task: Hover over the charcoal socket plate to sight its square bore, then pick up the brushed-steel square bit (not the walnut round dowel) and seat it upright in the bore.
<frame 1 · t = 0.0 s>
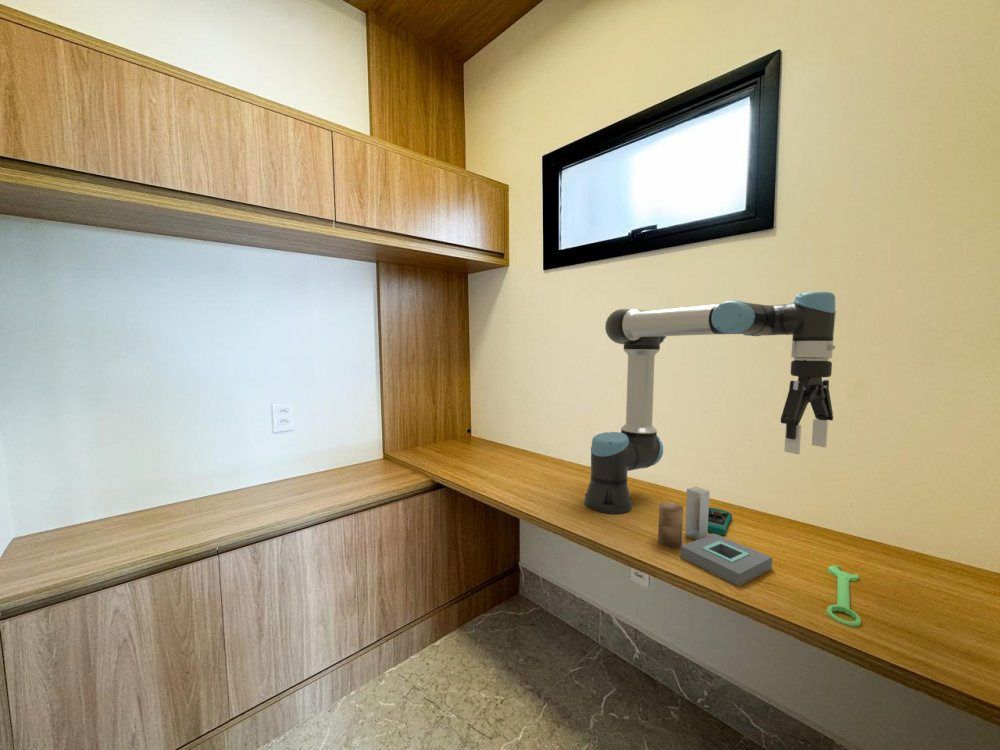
hand: (805, 449, 93), 28 cm above the worktop, fingers open, 13 cm apart
socket plate: (724, 562, 95), on the worktop
square bit: (696, 536, 109), on the worktop
digital multimeter: (714, 526, 117), on the worktop
wrench: (843, 597, 84), on the worktop
round dowel: (669, 543, 105), on the worktop
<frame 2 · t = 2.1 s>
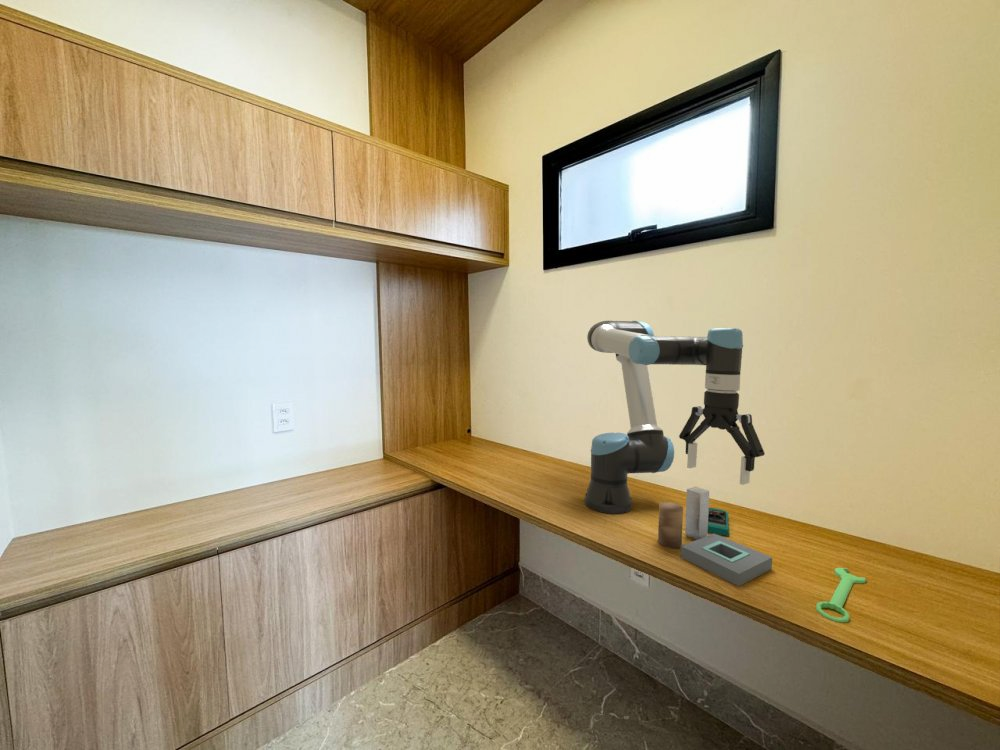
hand: (716, 475, 99), 20 cm above the worktop, fingers open, 13 cm apart
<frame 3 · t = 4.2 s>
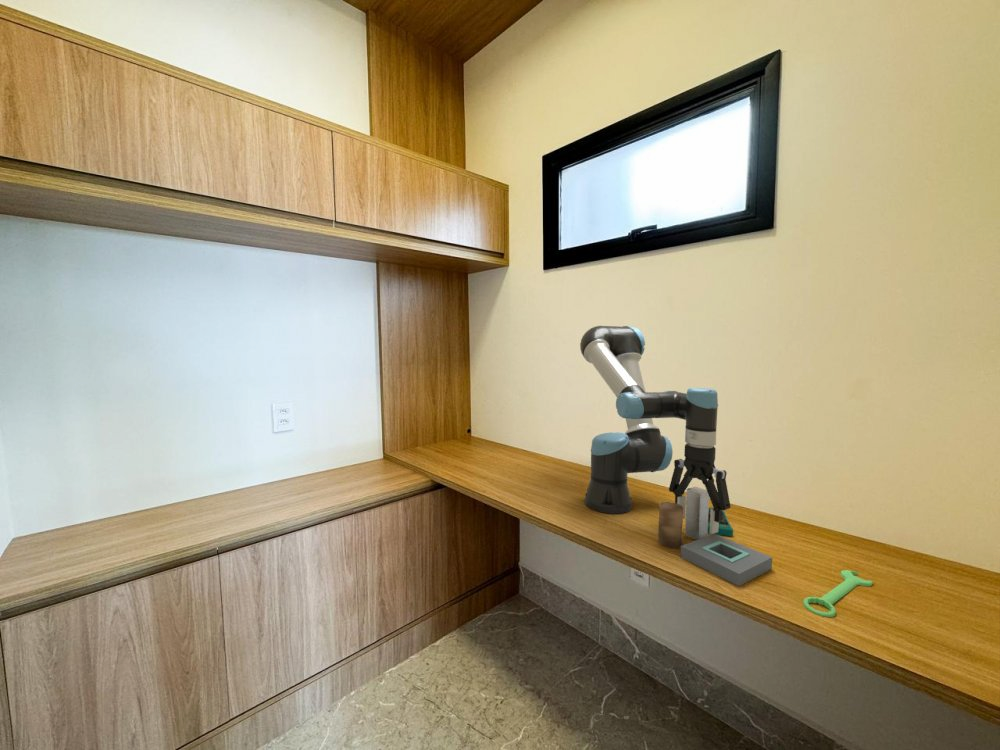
hand: (696, 525, 109), 3 cm above the worktop, fingers open, 9 cm apart
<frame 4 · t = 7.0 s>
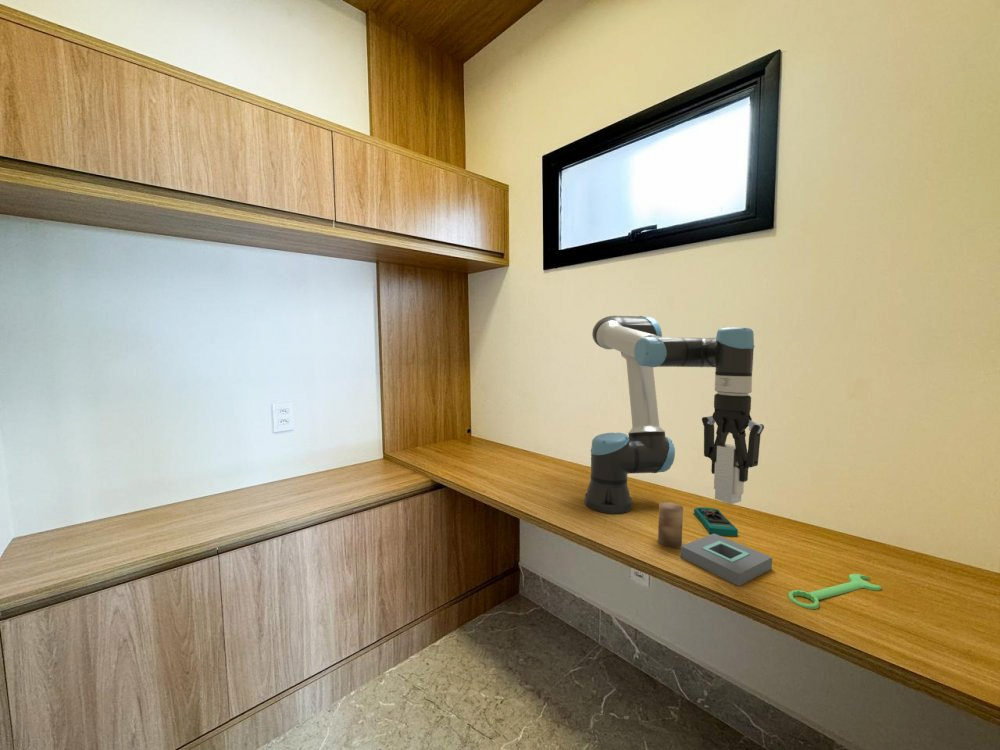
hand: (728, 490, 94), 18 cm above the worktop, fingers closed on square bit, 4 cm apart
square bit: (727, 500, 94), point 15 cm above the worktop, touching gripper
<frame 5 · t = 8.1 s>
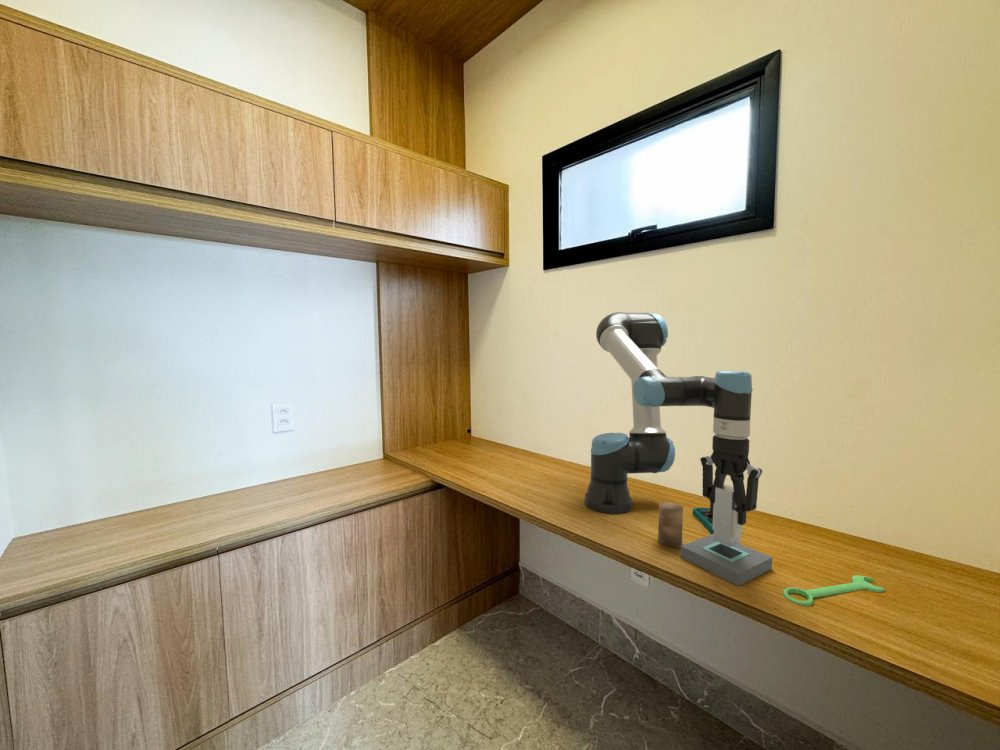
hand: (726, 532, 95), 8 cm above the worktop, fingers closed on square bit, 4 cm apart
square bit: (726, 541, 95), point 5 cm above the worktop, touching gripper
when the fingers open (4 cm above the worktop, at t = 9.1 s): square bit drops 2 cm, resting in socket plate.
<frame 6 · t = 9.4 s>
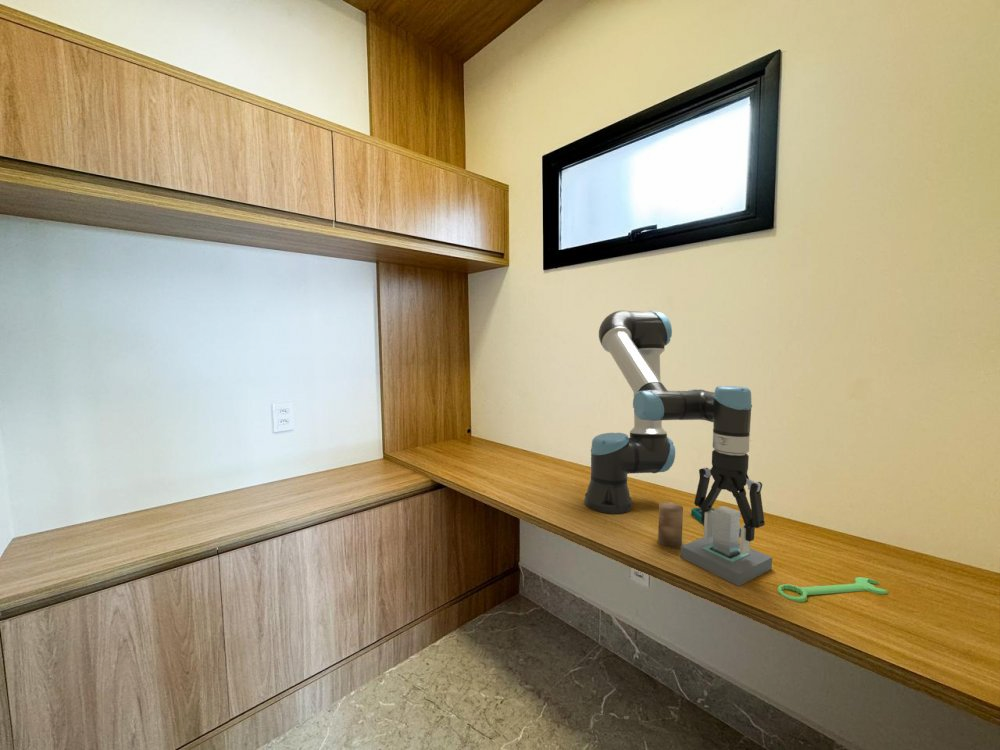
hand: (725, 544, 95), 5 cm above the worktop, fingers open, 8 cm apart
square bit: (724, 562, 95), resting in socket plate
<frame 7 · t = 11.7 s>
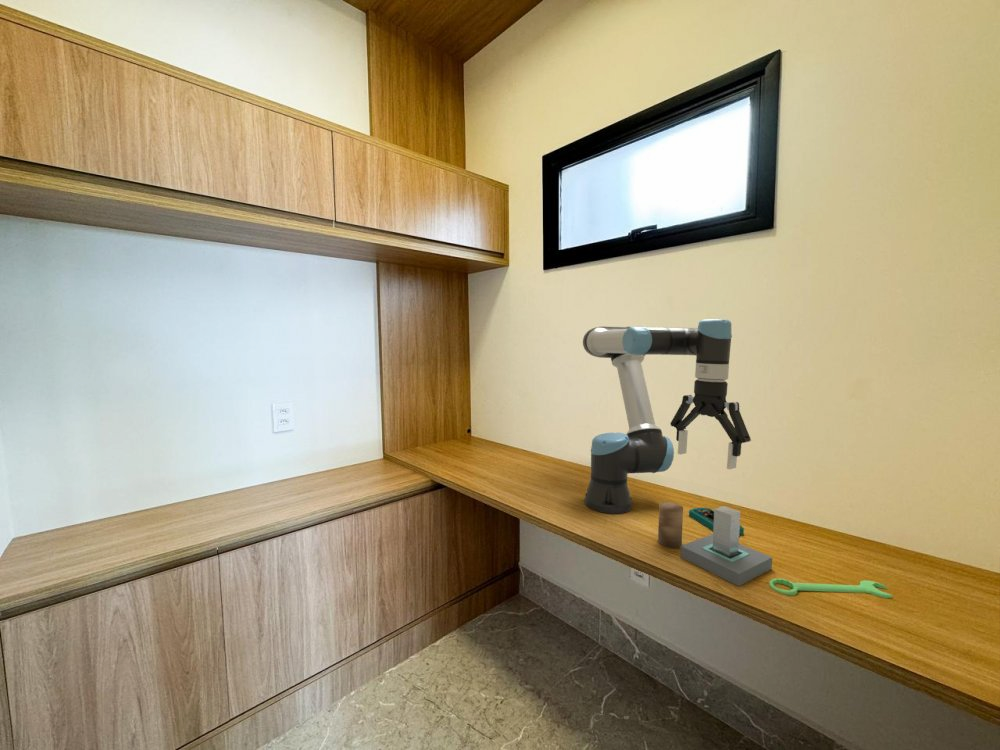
hand: (705, 460, 103), 22 cm above the worktop, fingers open, 13 cm apart
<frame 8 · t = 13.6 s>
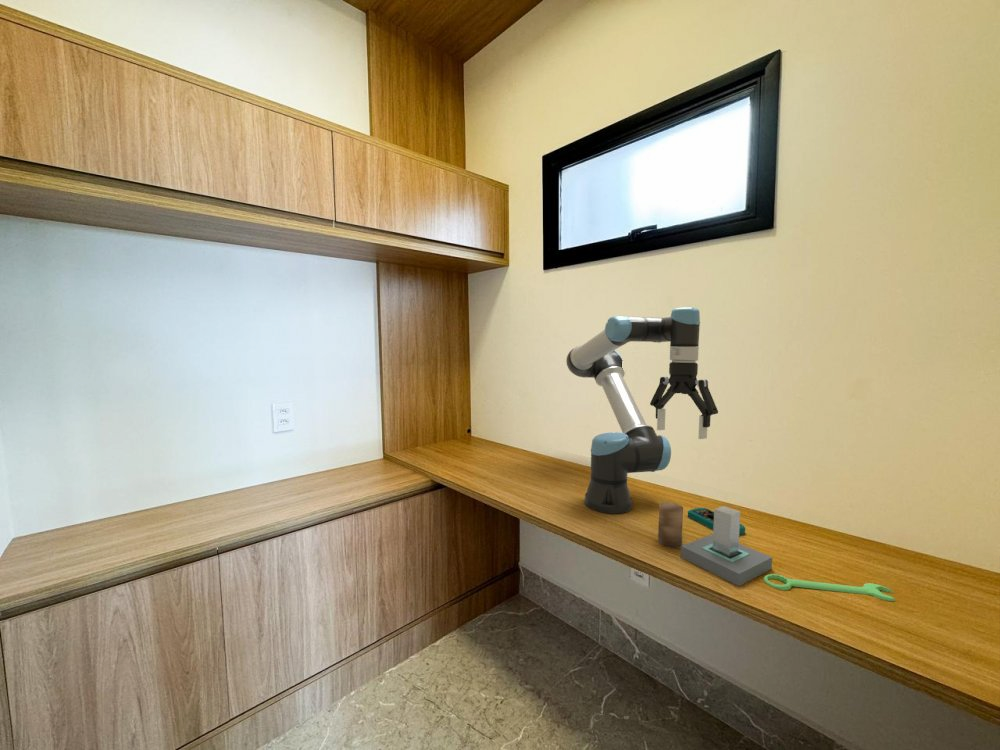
hand: (680, 434, 116), 27 cm above the worktop, fingers open, 13 cm apart
at the end: square bit 0.0 cm off-centre on the socket plate, point 0.0 cm above the socket plate's base; square bit tilted 0°; the gripper is holding nothing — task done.
